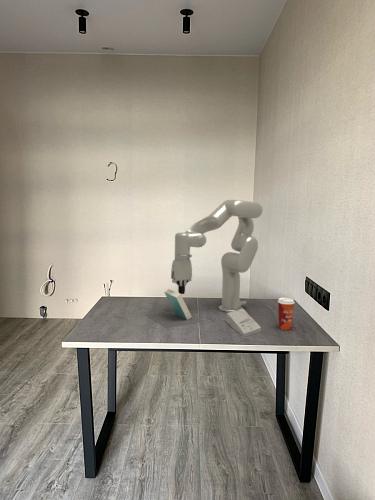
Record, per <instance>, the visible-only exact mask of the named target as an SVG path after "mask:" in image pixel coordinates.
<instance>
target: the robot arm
mask: <svg viewBox="0 0 375 500" xmlns="http://www.w3.org/2000/svg"><path fill="white" fill-rule="evenodd" d="M262 214H263V206H262V204H261V203H259V202H258V201H257V202H256V201H248V200H241V199H226V200H224V201H223V202H222V203H220V204H219V206H217V208H215V209H214V210H213V211H212V212H211V213H210V214H209V215H207V216H205V217H204V218H202V219H200V220H199V221H196V222H195V223H194V224H192V225H191V226H190V227H189V228H188V229H187V230H185V232H176V233H175V235H174V260H172V264H171V269H170V270H171V271H170V272H171V273H170V279H171V282H172V284H176V286H178V287H177V288H178V289H177V293H179V294H181V295H185V293H186V286H187V284H188V283H190V282H192V278H193V266H192V262H191V258H192V257H193V256H192V254H191V248H202V247H204V246H205V245H206V243H207V237H206V235H205V233H208V232H210V231H215V230H218V229H220V228H221V227H222V226H223V225H224V224H226V222H227V221H229V220H230V219H231V218H232V217H237V219H238V226H237V229H236V231H235V233H234V236H233V238H232V240H231V243H230V246H231V249H232V250H233V251H235V252H233V251H232V252H231V251H228V252H225V253H224V254H223V255H222V257H221V261H220V263H221V264H220V265H221V271H222V283H221V284H222V287H221V290H222V291H221V295H222V296H221V305H219V306H218V309H219V311H222V312H225V313H229V312H233V311H238V310H240V309H242V308H243V307H242V306H244V305H246V304H247V301H246V300H241V299H240V294H241V275H240V274H241V273H242V274H243V273H246V272H247V271H248V270H250V267H251V265H252V263H253V261H254V259H255V257H256V254H257V251H258V248H259V242H258V239H257V237H255V236H252V234H253V232H254V230H255V229H254V228H255V225H254V221H253V219H258V218H260V217H261V215H262ZM236 252H237V253H236ZM238 252H239V253H238Z"/></svg>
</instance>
